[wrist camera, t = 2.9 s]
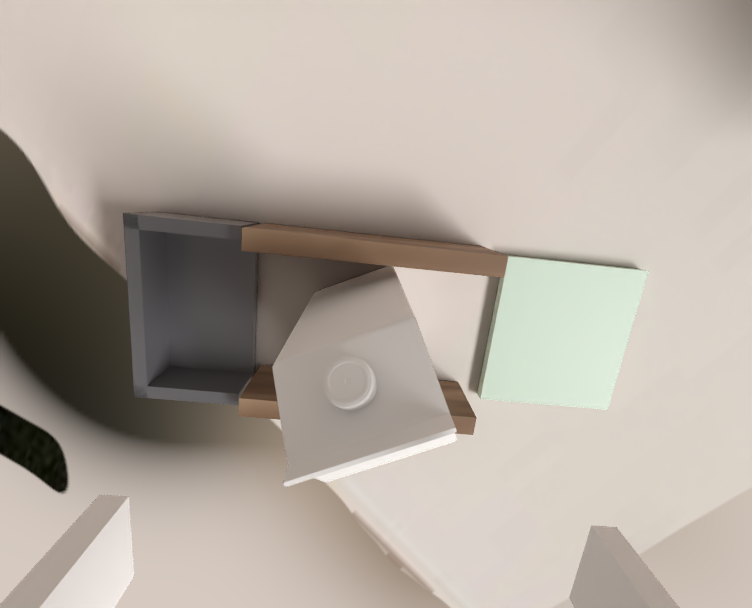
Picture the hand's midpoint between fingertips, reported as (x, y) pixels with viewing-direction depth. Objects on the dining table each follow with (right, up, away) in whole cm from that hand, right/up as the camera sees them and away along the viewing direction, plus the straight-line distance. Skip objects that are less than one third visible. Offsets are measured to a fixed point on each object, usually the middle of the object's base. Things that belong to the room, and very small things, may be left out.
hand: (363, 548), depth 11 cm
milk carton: (0, +6, +22) cm, 23 cm away
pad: (+16, +4, +23) cm, 29 cm away
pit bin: (-14, +7, +21) cm, 26 cm away
